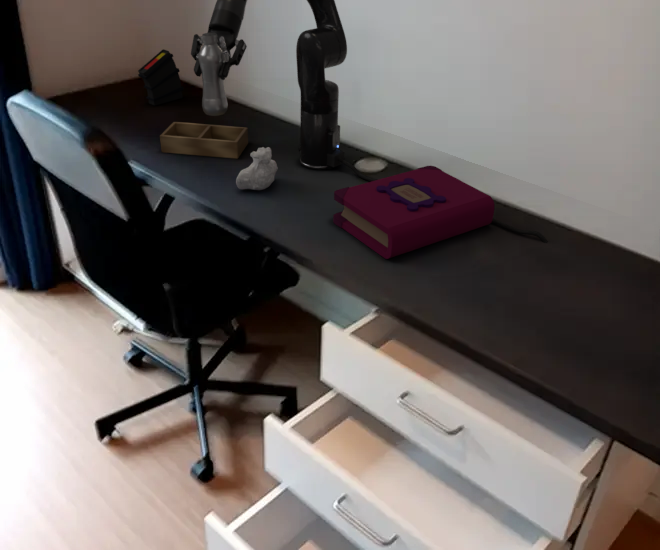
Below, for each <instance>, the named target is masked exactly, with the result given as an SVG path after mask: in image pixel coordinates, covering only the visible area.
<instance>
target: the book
mask: <svg viewBox="0 0 660 550" xmlns="http://www.w3.org/2000/svg"><path fill="white" fill-rule="evenodd" d="M333 201H336V202H337V203H339V204H340V205H341V206H343V210H342V211H339V212H336V213H335V214H333V218H332V219H333V220H332V221H333V224H334V225H336V227H338V228H340V229H342V230H344V231H346V232H347V233H348V234H350V235H351V236H353V237H354V238H355V239H357V240H358V241H360V242H361V243H362V244H364V245H365V246H367V247H368V248H369V249H371V250H372V251H374V252H375V253H377V254H378V255H379V256H381V257H382V258H384V259H385V260H389V259H392V258H395V257H397V256H400V255H403V254H406V253H410V252H413V251H415V250H418V249H422V248H425V247H427V246H429V245H434V244H436V243H439V242H442V241H445V240H447V239H450V238H454V237H456V236H460V235H462V234H466V233H468V232H471V231H474V230H477V229H480V228H483V227H485V226H488V225H491V224H492V219H493V218H494V215H495V201H494V199H493V198H492V196H491V195H489V194H487V193H485V192H483V191H481V190H479V189H478V188H475V187H474V186H472V185H470V184H468V183H466V182H464V181H462V180H460V179H458V178H456V177H455V176H453V175H451V174H449V173H447V172H445V171H443V169H441V168H439V167H437V166H435V165H425V166H421V167H418V168H416V169H413V170H409V171H405V172H401V173H398V174H397V173H396V174H394V175H390V176H387V177H383V178H379V179H378V180H375V181H371V182H370V181H367V182H364V183H361V184H357V185H354V186H347V187H342V188H339V189H336V190H334V192H333Z"/></svg>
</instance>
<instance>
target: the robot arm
mask: <svg viewBox="0 0 660 550" xmlns="http://www.w3.org/2000/svg"><path fill="white" fill-rule="evenodd" d="M306 1H307V3H308V5H309V7H310V9H311V11H312V15H313V18H314V20H315V25H316V28H315V27H314V28H311V29H307V30H304V31H302V32H301V33H300V34H299V35H298V37H297V40H296V46H295V47H296V49H295V53H296V55H295V56H296V74H297V77H296V78H297V84H298V87H299V91H300V131H299V132H300V139H299V140H300V144H299V145H300V146H299V147H298V152H299V156H300V158H299V164H300V165H301V166H303V167H305V168H307V169H311V170H333V169H334V168H336V167H338V166H341V165H345V166H346V167H348V168H349V169H351V170H352V172H353V173H354V174H355V175H356V176H358V177H359V178H361V179H362V180H364V181H367V182H371V181H375V180H379V179H377V178H373V177H370V176H367V175H365V174H363V173H362V172H360V171H359V170H358V169H357V167H356V166H355V165H353V164H352V163H351V162H349V161H347V160H345V155H346V154H345V153H346V152H345V151H344V150H341V147H340V145H341V125H340V124H339V97H340V95H339V94H340V93H339V92H340V90H339V89H340V88H339V85H338V84H337V83H336V82H334V81H331V80H328V79H326V70H325V69H329V68H332V67H333V68H334V67H337V66H340V65H342V64H343V63H344V62H345V60H346V58H347V54H348V43H347V38H346V34H345V30H344V27H343V23H342V20H341V17H340V14H339V11H338V7H337V4H336V1H335V0H306ZM247 4H248V0H216V2H215V4H214V8H213V11H212V14H211V17H210V21H209V24H208V27H207V32H206V33H216V34H217V39H218V42H217V45H218V46H219V47H220V48H221V50H222V51H223V54H224V62H223V63H222V66H221V70H220V73H219V77H220V78H221V80H224V81H226V79H227V78H228V76H229V73H230V70H231V67H232V66H239V65H240V63H241V61H242V59H243V57H244V54H245V52H246V49H247V47H248V46H247V44H246V42H245V40H244V39H241V38H240V39H238V37H239V34H240V30H241V26H242V24H243V20H244V17H245V14H246V13H245V12H246V7H247ZM203 45H204V43H202V35H200V36H199V34H198V33H195V34H194V35H193V38H192V43H191V49H190V55H191V57H192V58H193V60H194V61H195V63H194V66H193V72H194V74H195V76H196V77H198V78H199V77H202V73H201V68H200V64H199V58H198V56H199V52H200V50H201V48H202V47H203ZM233 49H234V51H233V54H232V53H231V50H233ZM492 223H493V224H494V225H496V226H498V227H501V228H503V229H506V230H508V231H510V232H513V233H516V234H519V235H524V236H526V235H527V236H535V237H536V238H538V239H540V240H541V242H542V243H545V244H548V240H547V238H546V237H545V236H544V235H543V234H542V233H541V232H539V231H536V230H529V229H521V228H517V227H514V226H512V225H509V224H508V223H505V222H502V221H500V220H498V219H496V218H494V217H493V219H492V222H491V224H492Z"/></svg>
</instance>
